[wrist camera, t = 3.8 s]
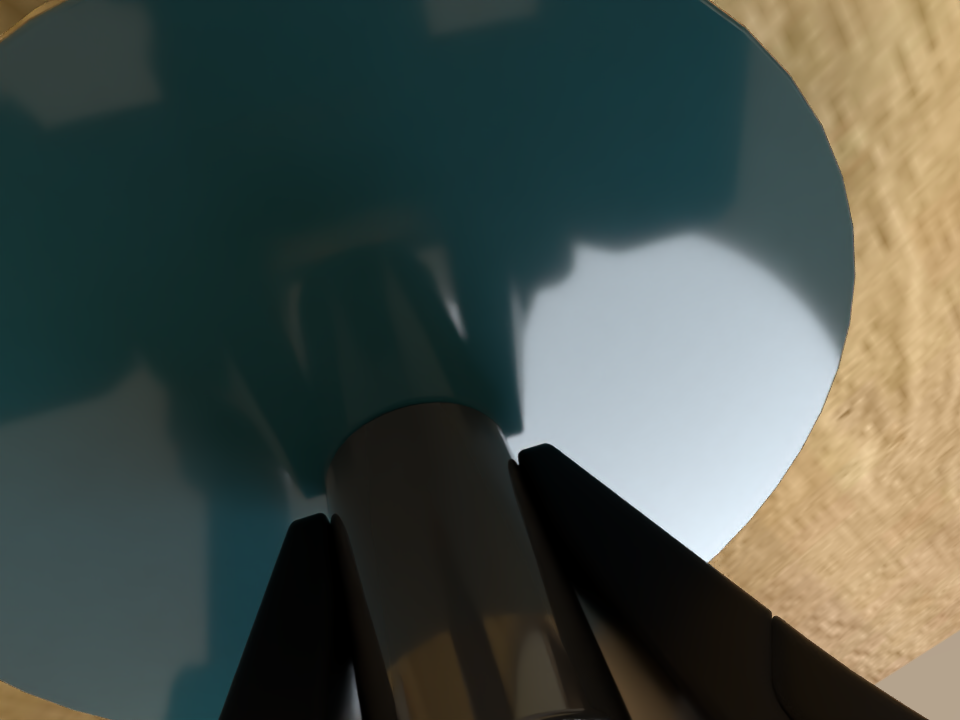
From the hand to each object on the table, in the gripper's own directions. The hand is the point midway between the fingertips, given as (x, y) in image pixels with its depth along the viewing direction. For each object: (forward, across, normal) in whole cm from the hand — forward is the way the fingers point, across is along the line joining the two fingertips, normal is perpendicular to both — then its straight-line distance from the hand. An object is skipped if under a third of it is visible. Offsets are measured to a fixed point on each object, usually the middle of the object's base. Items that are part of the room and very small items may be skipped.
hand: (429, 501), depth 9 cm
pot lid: (+1, 0, 0) cm, 1 cm away
